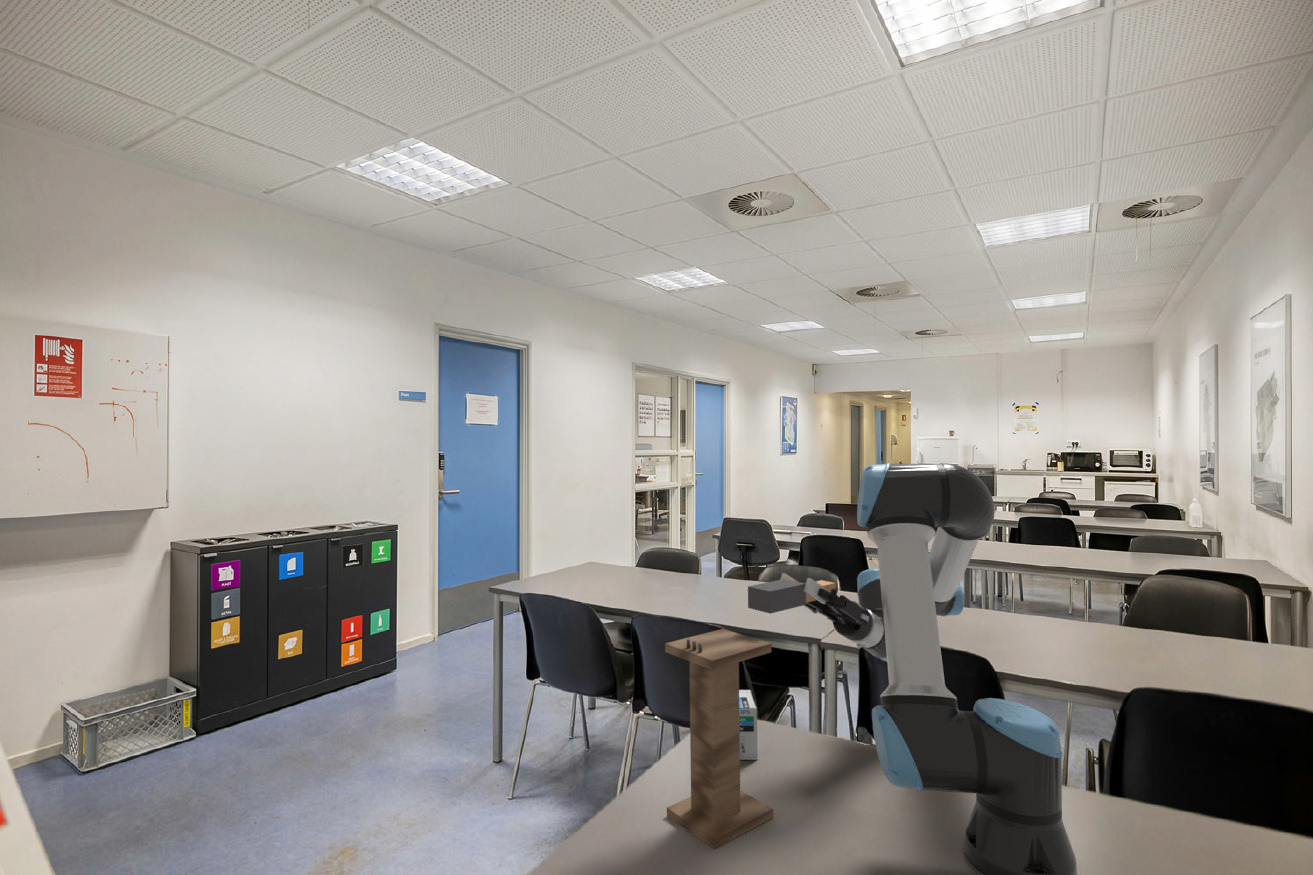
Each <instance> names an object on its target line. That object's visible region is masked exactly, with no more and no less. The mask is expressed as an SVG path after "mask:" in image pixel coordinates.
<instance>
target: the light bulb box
mask: <svg viewBox="0 0 1313 875" xmlns="http://www.w3.org/2000/svg"><path fill="white" fill-rule="evenodd" d="M739 727H740V761H748V760H749V761H757V760H759V759H758V753H759V752H758V708H757V705H756V702H755V700H754V698H753V694H752V690H751V689H739Z"/></svg>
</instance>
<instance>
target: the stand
mask: <svg viewBox="0 0 1313 875" xmlns="http://www.w3.org/2000/svg"><path fill="white" fill-rule="evenodd" d="M664 652H665V653H666V654H670V655H671V656H674V657H678V658H679V659H682V660H685V661H688V663H689V728H690V729H689V732H690V733H689V734H690V738H689V739H690V745H689V746H690V796H689V797H687V798H685V799H683V800H680V801H678V802H676V803H674V804H672V805H669V806H667V807H666V817H667V818H668V819H670V820H671V821H673V822H675V824H678V825H679V826H681V827H682V828H684V830H686V831H687V832H689V833H691V834H693V836H695V837H696V838H697V839H698V838H699V840H701V841H702V842H704V843H705V844H706V845H708V846H710V847H711V848H713V849H716V848H719V847H720V846H722V845H724V844H726V843H728V842H730V841H732V840H734V839H735V838H738V837H739V836H742V835H743V834H745V833H746V832H748V831H750V830H753V829H754V828H756V827H758V826H760V825H762V824H764V823H766V822H767V821H770V820H771V819H773V818H774V808H773V807H772V806H770V805H767V804H766V803H764V802H762V801H760V800H758V799H757V798H756V797H753V796H751V795H750V794H748V793H746V792H744V791H742V790H741V760H740V727H739V690H740V670H739V669H740V662H744V661H746V660H751V659H754V658H756V657H760V656H764V655H767V654H770V653H772V643H771V642H767V641H764V640H761V639H758V638H755V637H751V636H748V635H745V634H741V633H738V632H734V631H731V630H728V629H724V628H721V629H716V630H712V631H710V632H709V631H708V632H705V633H701V634H697V635H692V636H690V637H684V638H682V639H681V638H680V639H676V640H674V641H669V642H665V643H664ZM737 836H738V837H737Z"/></svg>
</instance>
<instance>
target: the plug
mask: <svg viewBox="0 0 1313 875" xmlns="http://www.w3.org/2000/svg"><path fill="white" fill-rule="evenodd" d="M815 581H816V582H817V583H819V584H820V585H821V586H823V587H824V588H826V589H827V590H829V593H831V590H832V589H835V590H837V589H836V585H837V584H836V582H831V581H827V580H823V579H821V580H815ZM805 585H806V582H804V583H803V582H800V581H798V582H795V581H790V580H785V579H782V580H780V579H778V580H773V581H768V582H763V583H758V584H753V585H749V586H748V585H747V608H748V609H751V610H755V611H759V612H763V613H766V614H770V615H771V614H775V613H778V612H782V611H787V610H791V609H794V608H798V607H802V606H804V605H806V603H807V602H811V601H815V600H816V599H815V598H813V597H812V596H810V595H809V594H807V593H806V592H804V588H805Z"/></svg>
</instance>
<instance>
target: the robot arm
mask: <svg viewBox="0 0 1313 875" xmlns="http://www.w3.org/2000/svg"><path fill="white" fill-rule="evenodd" d="M995 510H996V509H995V502H994V500H993V496H992V494H991V491H990V490H989V488H988V487H987V485H986V484H985V483H984V481H983V480H982V479H981V478H980V477H979V476H977V475H976V473H974V472H973V471H971V470H969V469H968V468H966V467H963V466H960V465H958V464H954V463H953V464H952V463H947V462H946V463H944V462H942V463H891V462H887V463H883V464H882V463H881V464H870V465H868V466H866V467H865V468H864V469H863V471H862V474H861V477H860V483H859V490H858V497H857V510H856V518H857V519H856V520H857V521H856V522H857V525H858V526H859V527H861V528H863V529H864V528H866V533H867V538H868V539H869V541H871V542H872V543H874V544H875V545H876V547H877V558H878V559H877V560H878V568H869V569H866V570H863V571H861V572H860V573H859V574H858V575H857V578H856V581H857V582H856V583H857V592H856V593H857V594H856V595H857V597H858V602H857V601H854V600H850V599H849V598H848V597H847V596H845V595H841V594H840V595H838V590H837V589H836V590H835V589H832V590H831V593H829V590H827V589H826V588H824V587H823V586H821V585H820V584H819V583H817V582H816V581H817V580H814V578H811V577H807V578H806V582H805V584H806V585H805V588H804V592H806V593H807V594H809V595H810V596H812V597H813V598H815V599H816V600H815V601H811V602H807V603H806V605H803V606H804V607H805V608H807V609H809V611H811V612H812V613H813V614H818V613H819V614H820V615H823V616H824V617H825V618H827V619H828V620H829V621H831V622H832V625H833V628H834V630H835V631H836V632H837V633H838V634H839V635H841V636H842V637H844V638H846V639H847V640H849V641H851V642H852V643H854V644H856V646H855V647H856V648H857V649H861V648H862V649H864V650H865V651H867V652H868V653H870V654H871V655H872V656H873V657H874V658H877V659H880V660H882V661H883V662H886V663H887V673H888V674H887V676H888V685H887V687H886V688H885V690H883V692H882V693H881V694H880V705H877V706H874V707H873V708H872V710H871V720H872V721H871V722H872V731H873V737H874V743H875V747H876V752H877V756H878V759H879V760H878V761H879V764H880V767H881V770H882V772H883V774H884V776H885V778H886V780H887V781H888V782H889V783H890V784H891V785H892V786H894V787H897V788H902V789H903V788H904V789H911V790H916V791H919V792H922V791H930V792H931V791H934V792H950V793H964V794H975V803H974V806H973V809H972V812H971V815H970V817H969V820H968V823H967V826H966V829H965V831H964V852H965V854H966V857H967V858H968V859H969V861H970V862H971V864H972V865H973V866H974V867H975V868H977V870H979V871H980V872H982V874H985V875H1077V874H1078V872H1077V863H1078V862H1077V858H1076V854H1075V853H1074V850H1073V847H1072V844H1071V840H1070V838H1069V836H1068V832H1067V830H1066V827H1065V825H1064V822H1063V821H1064V820H1063V810H1062V808H1063V801H1062V800H1063V797H1062V796H1063V793H1062V792H1063V791H1062V788H1063V787H1062V785H1063V784H1062V783H1063V782H1062V774H1063V773H1062V770H1063V768H1062V762H1063V761H1062V760H1063V755H1064V754H1063V751H1062V745H1061V744H1062V743H1061V734H1060V730H1059V727H1058V725H1057V724H1056V723H1055V722H1054V721H1053V720H1052V719H1051V718H1050V717H1048V716H1047V715H1046V714H1045V713H1043V712H1040V711H1039V710H1036V709H1034V708H1032V707H1030V706H1027V705H1024V704H1021V703H1018V702H1015V701H1010V700H1008V699H1002V698H995V697H994V698H993V697H988V698H987V697H985V698H979V699H978V700H976V701H975V704H974V706H973V711H969V710H968V711H967V710H959V707H958V705H959V704H958V698H957V696H956V695H955V694H954V693H952V692H951V691H950V690H949V689H948V688H947V686H946V684H945V682H946V681H945V675H944V665H943V659H942V650H941V643H940V642H941V641H940V634H939V625H938V617H937V616H941V617H949V616H959V615H961V614H962V612H963V610H964V603H965V602H964V601H965V599H964V598H965V597H964V592H963V588H962V586H961V585H960V584H961V582H962V579H963V577H964V574H965V573H966V570H967V567H968V566H969V563H970V561H971V558H972V556H973V554H974V551H975V549H976V547H977V545H978V542H979V540H981V539H983V538H985V537H986V536H987V535H988V534H989V532H990V530H991V527H992V525H993V522H994V521H995V520H994V519H995V512H996V511H995ZM936 528H937V529H936ZM932 539H933V541H932ZM931 541H932V544H931V547H930V549H929V543H930V542H931ZM782 579H785V580H790V581H795V582H799V581H798V580H797V579H795V578H793V577H791V576H790V575H788V574H787V573H785V572H782V573H781V576H780V579H779V580H782Z"/></svg>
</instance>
